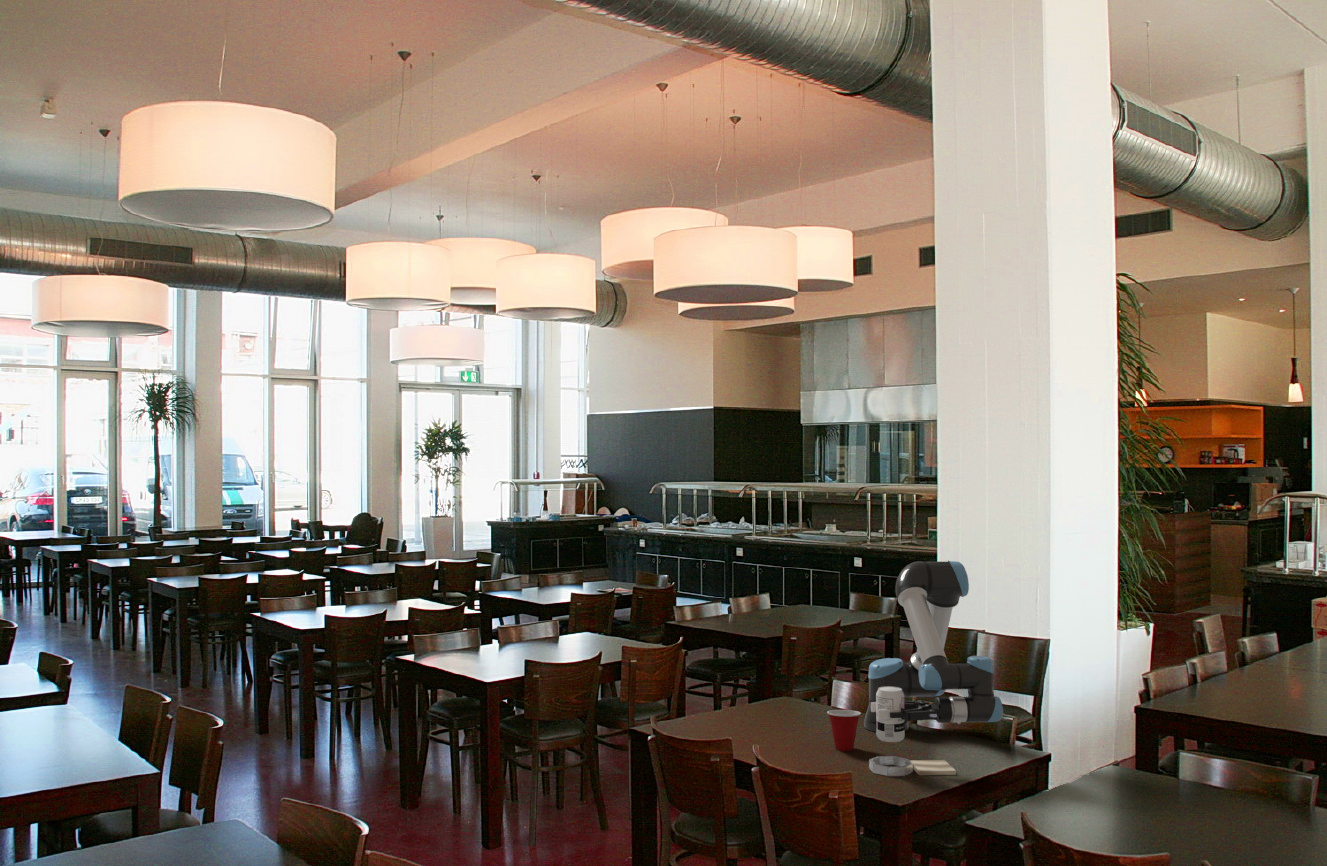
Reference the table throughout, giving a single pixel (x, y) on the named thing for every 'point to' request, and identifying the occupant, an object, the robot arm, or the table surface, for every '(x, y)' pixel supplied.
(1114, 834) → the table surface
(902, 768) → the collar
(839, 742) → the plastic cup
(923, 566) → the robot arm
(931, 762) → the board
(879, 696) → the supplement can
